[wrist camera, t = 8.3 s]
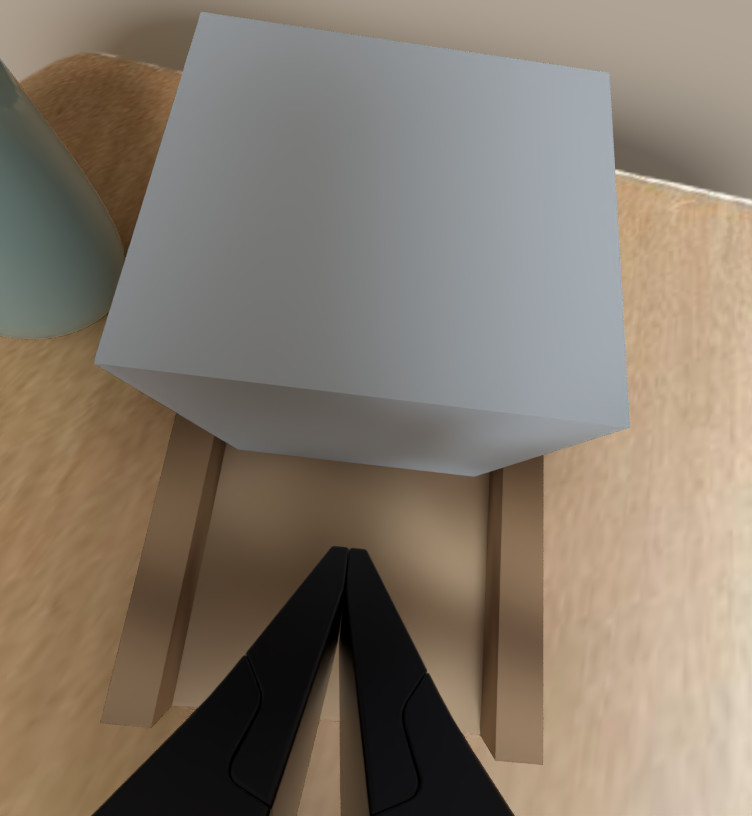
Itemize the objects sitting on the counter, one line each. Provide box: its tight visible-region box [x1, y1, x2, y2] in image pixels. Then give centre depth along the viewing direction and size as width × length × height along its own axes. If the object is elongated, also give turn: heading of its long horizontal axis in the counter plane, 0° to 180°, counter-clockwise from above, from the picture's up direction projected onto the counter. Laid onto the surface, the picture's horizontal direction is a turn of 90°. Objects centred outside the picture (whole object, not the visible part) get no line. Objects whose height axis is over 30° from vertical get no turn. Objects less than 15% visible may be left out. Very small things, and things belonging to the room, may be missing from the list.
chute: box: [100, 413, 543, 765], centre depth 17 cm, size 22×14×3 cm, turn 174°
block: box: [94, 12, 630, 477], centre depth 14 cm, size 9×10×10 cm
